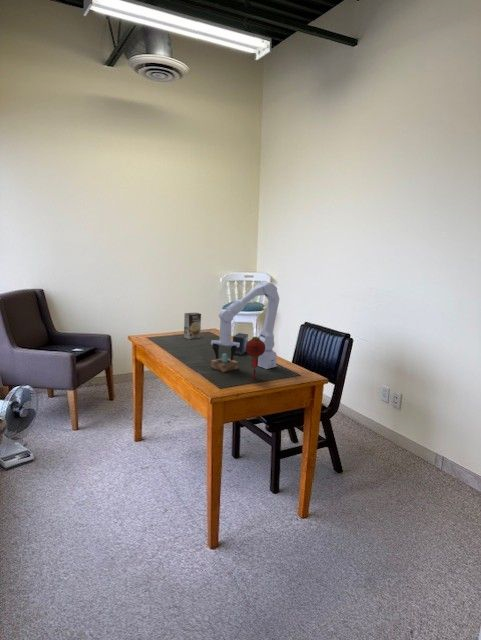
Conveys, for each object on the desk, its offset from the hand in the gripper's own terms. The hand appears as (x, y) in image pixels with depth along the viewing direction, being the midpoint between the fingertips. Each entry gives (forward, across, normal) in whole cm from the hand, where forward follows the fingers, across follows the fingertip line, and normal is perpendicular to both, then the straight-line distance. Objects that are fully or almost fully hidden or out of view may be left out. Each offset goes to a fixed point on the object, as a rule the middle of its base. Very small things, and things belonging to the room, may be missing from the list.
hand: (224, 359), depth 216 cm
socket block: (+4, 0, 0) cm, 4 cm away
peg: (+4, 0, 0) cm, 4 cm away
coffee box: (+5, +36, -56) cm, 67 cm away
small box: (+5, -1, -31) cm, 31 cm away
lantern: (+5, -18, +12) cm, 22 cm away
